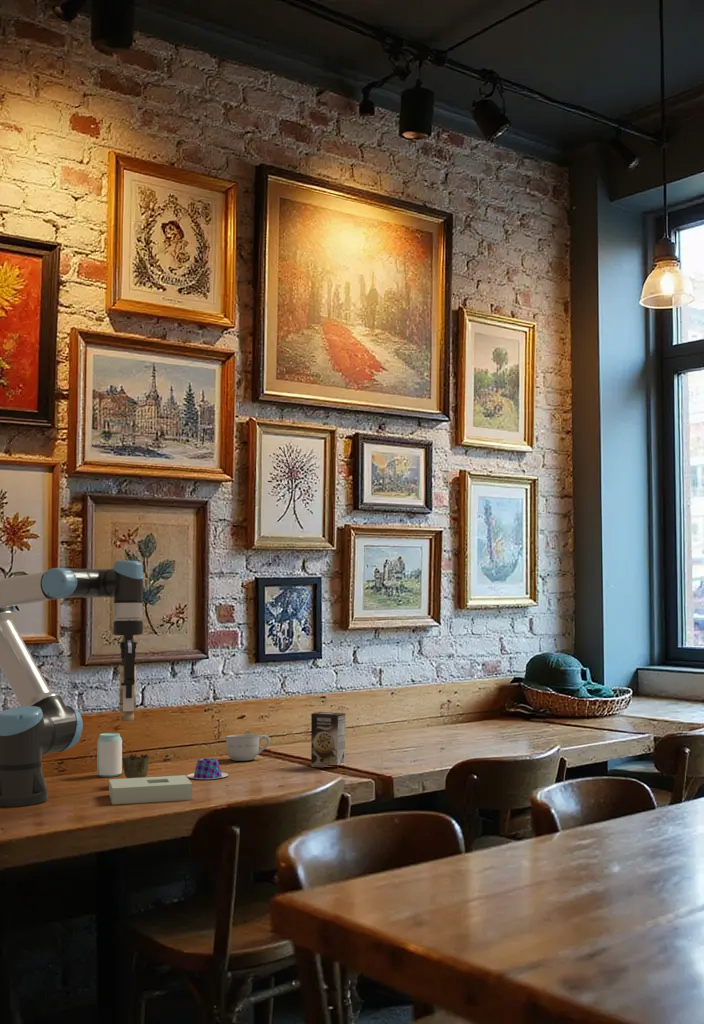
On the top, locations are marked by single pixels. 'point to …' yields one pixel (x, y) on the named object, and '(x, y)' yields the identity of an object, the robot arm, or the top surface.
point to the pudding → (207, 769)
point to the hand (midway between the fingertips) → (127, 709)
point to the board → (150, 789)
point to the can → (109, 755)
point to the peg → (124, 714)
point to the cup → (135, 766)
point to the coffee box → (327, 739)
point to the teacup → (245, 746)
